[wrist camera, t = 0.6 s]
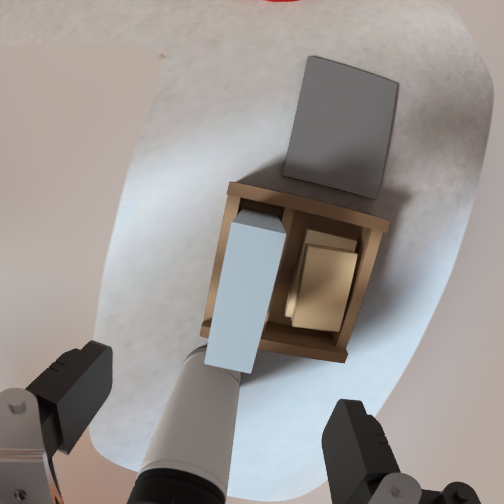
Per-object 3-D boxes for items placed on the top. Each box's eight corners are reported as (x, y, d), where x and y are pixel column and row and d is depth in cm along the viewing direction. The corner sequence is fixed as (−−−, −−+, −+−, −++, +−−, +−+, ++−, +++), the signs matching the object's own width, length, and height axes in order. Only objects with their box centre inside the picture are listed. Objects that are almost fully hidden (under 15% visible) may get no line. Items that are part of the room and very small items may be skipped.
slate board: (243, 207, 28) (231, 222, 17) (277, 214, 28) (286, 234, 17) (224, 301, 30) (203, 363, 19) (255, 308, 30) (251, 373, 19)
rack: (235, 181, 28) (229, 181, 23) (370, 214, 28) (390, 220, 23) (209, 313, 31) (199, 336, 26) (333, 338, 31) (344, 363, 26)
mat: (307, 57, 25) (308, 55, 25) (395, 85, 26) (397, 83, 25) (282, 175, 28) (282, 175, 27) (374, 199, 28) (376, 199, 27)
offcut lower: (305, 226, 28) (307, 229, 26) (352, 238, 28) (357, 241, 26) (284, 309, 30) (285, 316, 28) (328, 318, 30) (332, 325, 28)
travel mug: (252, 357, 32) (240, 526, 12) (227, 400, 33) (202, 553, 14) (197, 333, 32) (132, 491, 12) (176, 378, 33) (116, 524, 13)
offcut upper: (305, 242, 27) (308, 246, 25) (352, 250, 27) (357, 254, 25) (291, 318, 28) (292, 326, 26) (335, 324, 28) (339, 331, 26)
